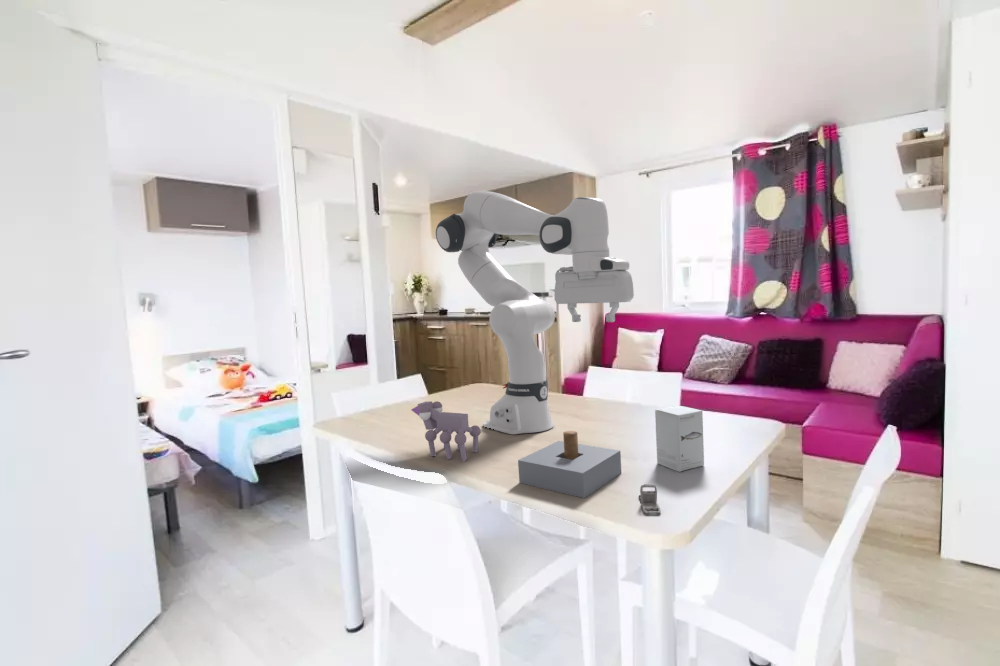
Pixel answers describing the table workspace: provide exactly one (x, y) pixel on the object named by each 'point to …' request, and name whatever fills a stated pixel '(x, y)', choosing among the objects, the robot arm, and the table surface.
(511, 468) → the table surface
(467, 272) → the robot arm
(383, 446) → the table surface
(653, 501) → the strap clip
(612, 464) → the hole block
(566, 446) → the walnut peg
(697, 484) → the table surface
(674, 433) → the supplement box
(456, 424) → the toy sheep
